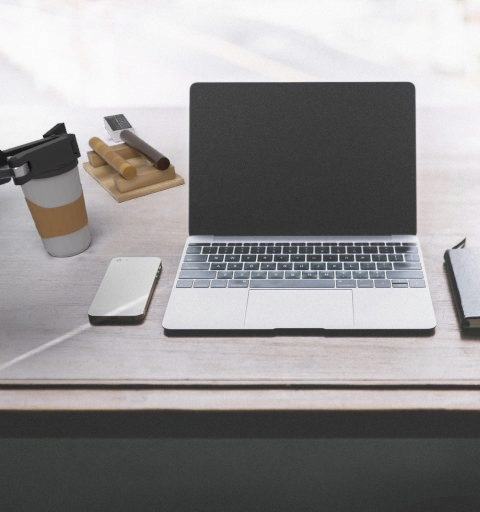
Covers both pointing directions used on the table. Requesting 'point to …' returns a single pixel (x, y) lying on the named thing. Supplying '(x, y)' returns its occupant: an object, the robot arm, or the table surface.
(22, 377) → the table surface
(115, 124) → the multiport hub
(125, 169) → the rod rack
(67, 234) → the coffee cup
